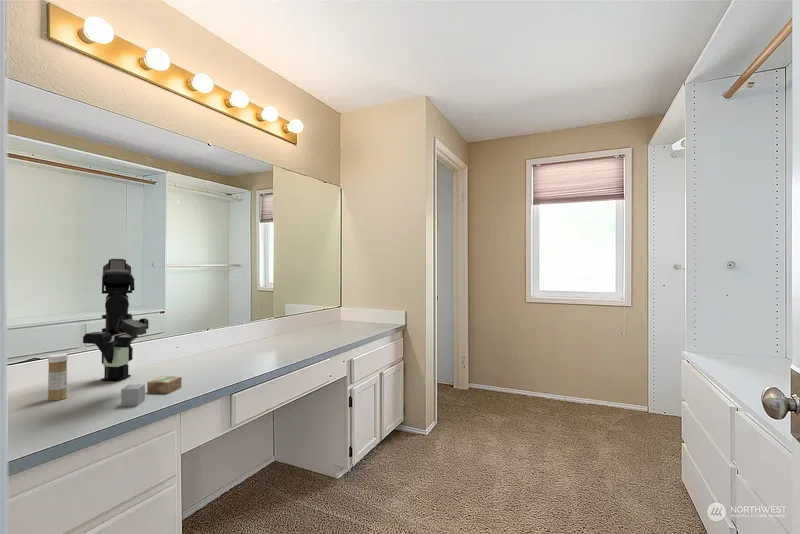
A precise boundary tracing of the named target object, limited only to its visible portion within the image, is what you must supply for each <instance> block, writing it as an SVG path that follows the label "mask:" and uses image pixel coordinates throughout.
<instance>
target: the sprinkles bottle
mask: <svg viewBox="0 0 800 534" xmlns="http://www.w3.org/2000/svg"><path fill="white" fill-rule="evenodd" d="M68 358H69V357H68V354H67V353H54V354H53V353H52V354H49V355H48V356H47V362H48V379H47V391H48V393H47V400H48V401H60V400H63V399H66V398H67V397H68V395H67V386H68Z"/></svg>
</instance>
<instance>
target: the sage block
mask: <svg viewBox="0 0 800 534" xmlns="http://www.w3.org/2000/svg"><path fill="white" fill-rule="evenodd" d="M129 362H130V361H129V348H127V347H114V352H113V361H112V363H108V362H107V361H106V359H105V357H104V364H103V367H105V366H108V367H119V366H122V365H125V364H128V365H129Z"/></svg>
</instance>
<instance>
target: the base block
mask: <svg viewBox="0 0 800 534" xmlns="http://www.w3.org/2000/svg"><path fill="white" fill-rule="evenodd" d="M146 385H147V387H146V389H147V390H146V393H148V394H149V393H150V394H165V393H168V394H170V393H172V392H174V391H176V390H178V389H181V388H182V376H165V375H164V376H163V375H161V376H159V377H156V378H155V379H151V380H149V381H147V383H146Z"/></svg>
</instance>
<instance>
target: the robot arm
mask: <svg viewBox="0 0 800 534" xmlns="http://www.w3.org/2000/svg"><path fill="white" fill-rule="evenodd" d="M101 275H102V277H101V278H102V279H101V294H102V295H103V294H105V295H106V294H107V295H106V296H105V305H104V308H105V314H102V315H101V318H102V319H104V320H105V326H104V327H102V328H101V331H93V332H87V333H85V334H84V335H83V336H82V344H89V345H90V344H91V345H95V346H96V347H97V348H98V349H99V351H100V352H101V365H104V357H105V359H106V361H107V362H108V363H112V361H113V352H114V347H127V348H129V361H128V362H131V361H133V352H134V351H133V350H134V348H133V347H132V345H131V344H132V342H134V341H135V340H136V339H138V337H139V336H143V335H145V334H147V330H149V329H150V327H149V319H148V318H145V317H144V318H140V319H136V320H135V319H133V315H132V313H129V307H130V302H129V296H128V294H133V291H135V277H134V276H133V274H132V266H131V265H130V264H128V263H127V259H124V258H110V259H108V263H106V264H105V265H104V266H102V274H101ZM131 376H132V375H131V374H129V363H128V364H125V365H122V366H119V367H108V366H104V377H103V378H100V381H105V382H106V381H110V382H111V381H112V382H119V381H121V380H124V379H126V378H129V377H131Z"/></svg>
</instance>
